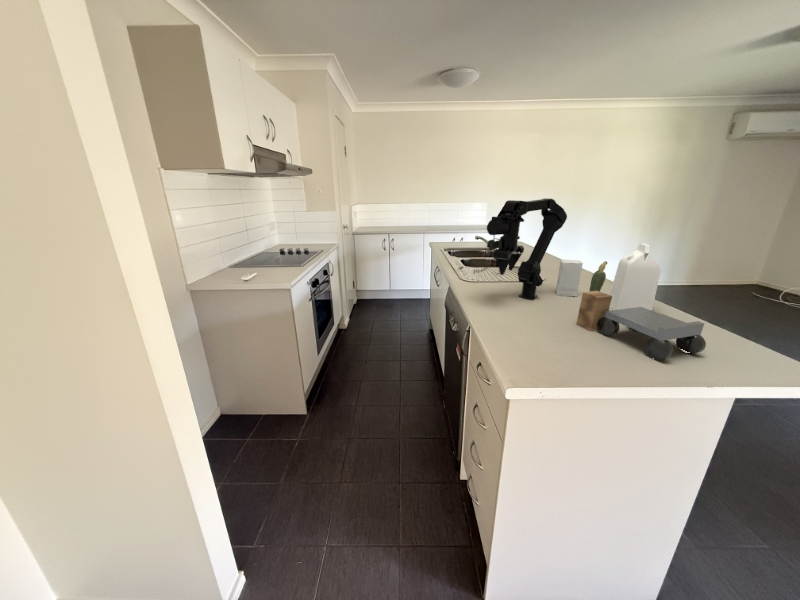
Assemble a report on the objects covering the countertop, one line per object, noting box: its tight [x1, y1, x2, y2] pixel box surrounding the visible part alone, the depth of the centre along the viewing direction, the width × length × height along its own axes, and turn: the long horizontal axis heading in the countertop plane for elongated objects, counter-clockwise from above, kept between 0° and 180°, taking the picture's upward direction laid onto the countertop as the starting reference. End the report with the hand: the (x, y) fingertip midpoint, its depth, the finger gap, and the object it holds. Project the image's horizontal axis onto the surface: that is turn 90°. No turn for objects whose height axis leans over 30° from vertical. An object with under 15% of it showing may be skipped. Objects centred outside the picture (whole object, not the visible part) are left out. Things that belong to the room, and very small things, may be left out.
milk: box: [609, 242, 662, 311], centre depth 121 cm, size 12×12×26 cm
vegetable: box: [588, 260, 608, 292], centre depth 121 cm, size 4×4×20 cm
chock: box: [576, 290, 612, 332], centre depth 107 cm, size 6×6×12 cm
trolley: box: [597, 307, 707, 361], centre depth 96 cm, size 22×15×10 cm
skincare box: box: [555, 259, 584, 297], centre depth 141 cm, size 8×7×16 cm
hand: (506, 272), depth 129 cm, fingers open, 9 cm apart
